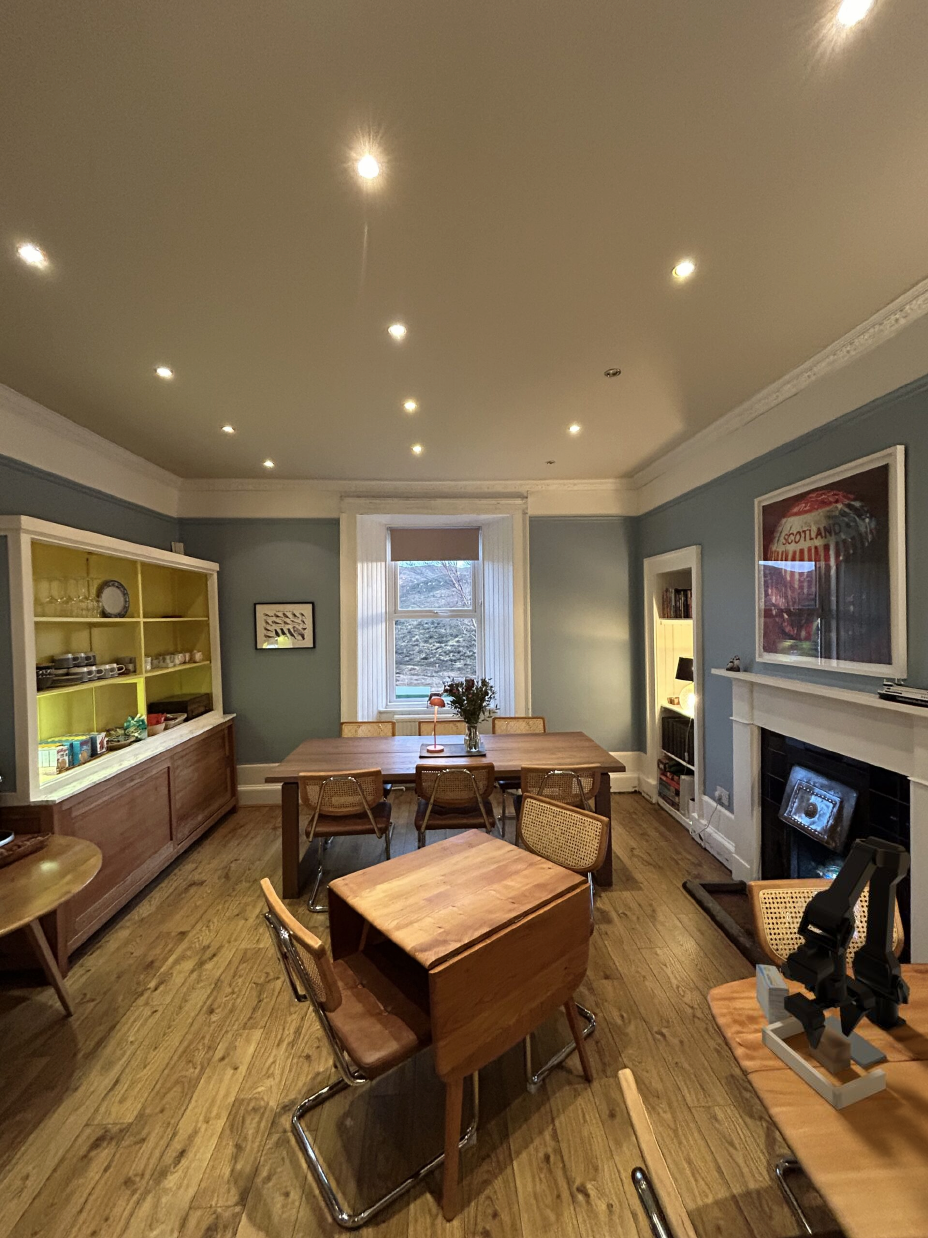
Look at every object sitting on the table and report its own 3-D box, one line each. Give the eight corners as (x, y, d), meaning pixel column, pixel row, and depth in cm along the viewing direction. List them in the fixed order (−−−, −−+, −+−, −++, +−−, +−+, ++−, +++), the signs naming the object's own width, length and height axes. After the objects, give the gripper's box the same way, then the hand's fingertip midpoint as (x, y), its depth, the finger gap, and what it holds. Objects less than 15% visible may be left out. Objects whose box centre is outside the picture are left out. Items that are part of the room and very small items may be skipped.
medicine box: (790, 1029, 113) (790, 990, 112) (768, 1026, 113) (768, 987, 113) (776, 1002, 120) (776, 965, 120) (755, 999, 121) (755, 963, 121)
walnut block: (826, 1047, 108) (825, 1024, 108) (850, 1067, 103) (850, 1043, 103) (808, 1054, 106) (808, 1030, 106) (832, 1075, 101) (832, 1050, 101)
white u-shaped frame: (806, 1025, 113) (806, 1012, 113) (885, 1088, 98) (885, 1073, 98) (761, 1041, 109) (761, 1028, 109) (837, 1110, 94) (837, 1094, 94)
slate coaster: (832, 1018, 115) (832, 1015, 115) (886, 1058, 105) (886, 1055, 105) (810, 1026, 113) (810, 1023, 113) (862, 1068, 103) (862, 1065, 103)
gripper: (823, 933, 115) (823, 1001, 115) (760, 951, 109) (760, 1024, 109) (876, 965, 104) (877, 1040, 105) (810, 987, 98) (810, 1067, 99)
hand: (829, 1041), depth 105 cm, fingers open, 9 cm apart
